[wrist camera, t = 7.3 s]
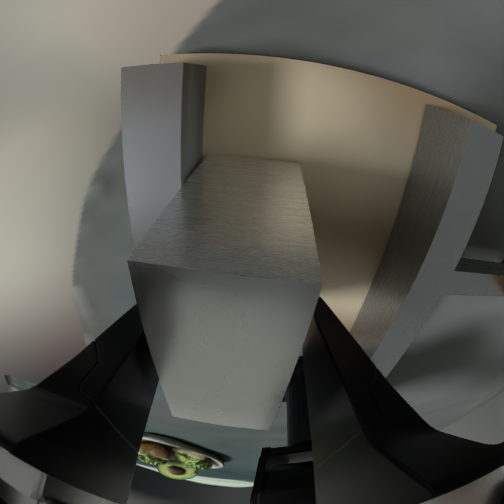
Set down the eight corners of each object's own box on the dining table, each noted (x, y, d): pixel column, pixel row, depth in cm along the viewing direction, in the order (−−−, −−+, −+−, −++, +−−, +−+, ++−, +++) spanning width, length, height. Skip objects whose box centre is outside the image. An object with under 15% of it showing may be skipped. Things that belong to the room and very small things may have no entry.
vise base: (395, 330, 18) (413, 385, 15) (181, 317, 18) (164, 378, 14) (479, 118, 10) (541, 147, 6) (172, 56, 10) (122, 51, 6)
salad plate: (90, 425, 38) (83, 446, 34) (142, 418, 31) (135, 448, 27) (172, 462, 46) (169, 481, 42) (239, 458, 39) (237, 482, 35)
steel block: (276, 298, 15) (269, 430, 9) (207, 290, 15) (172, 416, 9) (299, 163, 11) (322, 284, 5) (208, 153, 11) (127, 260, 5)
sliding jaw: (465, 338, 17) (494, 408, 12) (344, 343, 17) (360, 440, 11) (551, 169, 9) (622, 227, 4) (425, 104, 9) (546, 156, 3)
